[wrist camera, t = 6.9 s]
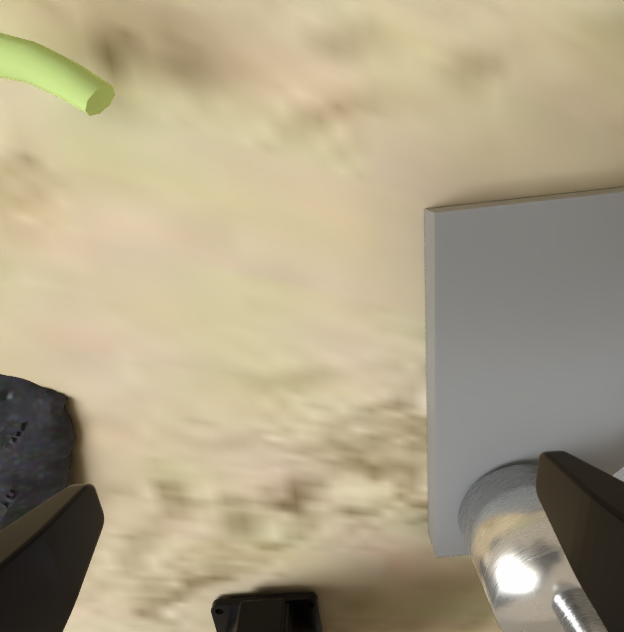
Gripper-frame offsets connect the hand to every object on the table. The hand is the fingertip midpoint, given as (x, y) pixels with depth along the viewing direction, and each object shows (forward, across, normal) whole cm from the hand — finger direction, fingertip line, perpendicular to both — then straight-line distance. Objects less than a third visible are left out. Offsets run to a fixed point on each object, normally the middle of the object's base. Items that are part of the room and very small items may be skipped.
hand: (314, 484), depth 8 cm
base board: (+11, -13, +5) cm, 18 cm away
